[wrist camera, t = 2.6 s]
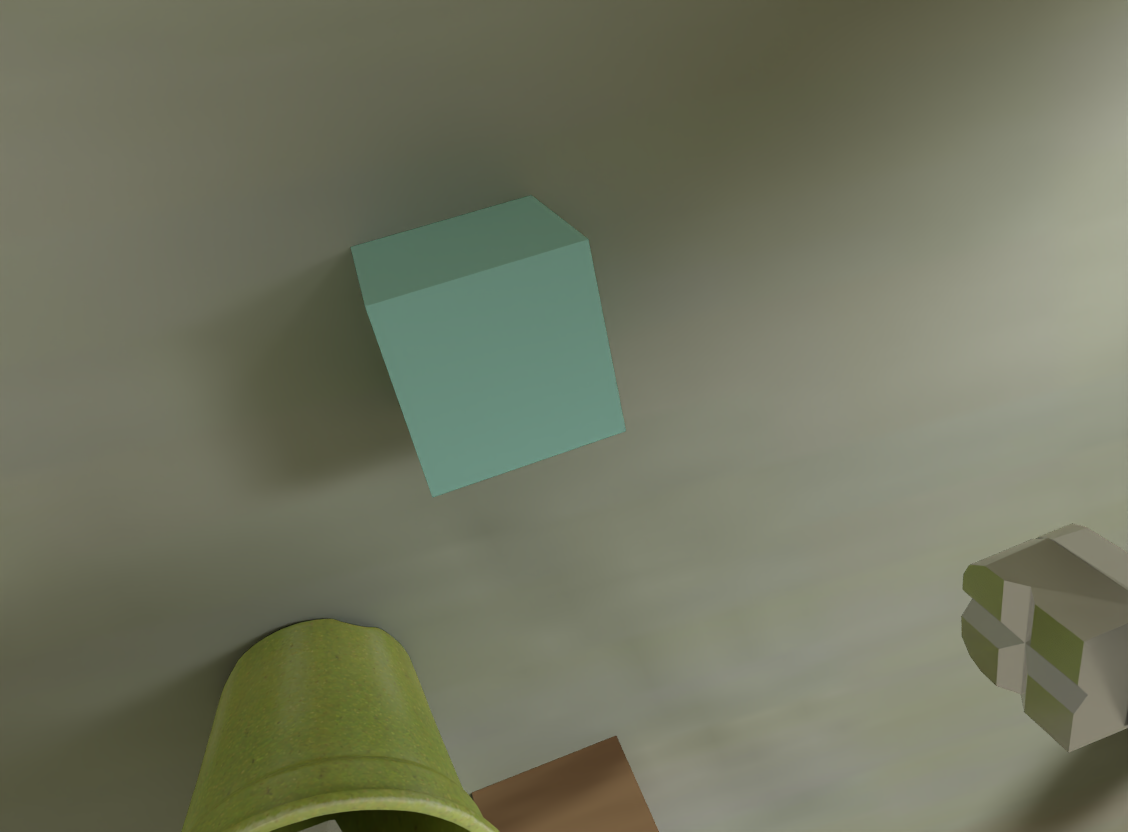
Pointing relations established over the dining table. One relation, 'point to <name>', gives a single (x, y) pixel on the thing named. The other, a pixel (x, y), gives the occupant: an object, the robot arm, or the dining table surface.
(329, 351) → the dining table surface
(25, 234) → the dining table surface
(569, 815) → the walnut base block
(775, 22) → the dining table surface
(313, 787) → the plant pot
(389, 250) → the teal block
